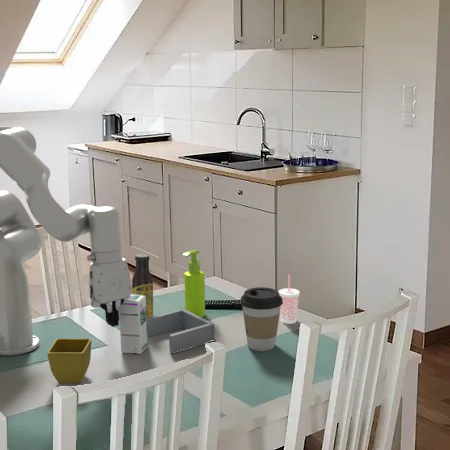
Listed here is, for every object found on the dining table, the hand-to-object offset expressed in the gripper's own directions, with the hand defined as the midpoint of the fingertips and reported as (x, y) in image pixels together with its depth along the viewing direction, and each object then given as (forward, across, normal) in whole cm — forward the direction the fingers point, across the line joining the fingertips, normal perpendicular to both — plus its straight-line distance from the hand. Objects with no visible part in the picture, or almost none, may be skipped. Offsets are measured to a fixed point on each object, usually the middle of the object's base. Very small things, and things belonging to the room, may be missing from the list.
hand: (113, 324), depth 187 cm
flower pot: (+9, -15, -5) cm, 18 cm away
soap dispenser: (+10, +33, +12) cm, 37 cm away
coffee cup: (+11, +34, -18) cm, 40 cm away
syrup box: (+9, +6, +1) cm, 11 cm away
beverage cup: (+11, +52, -9) cm, 54 cm away
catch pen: (+9, +20, 0) cm, 22 cm away
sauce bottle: (+9, +19, +18) cm, 28 cm away
